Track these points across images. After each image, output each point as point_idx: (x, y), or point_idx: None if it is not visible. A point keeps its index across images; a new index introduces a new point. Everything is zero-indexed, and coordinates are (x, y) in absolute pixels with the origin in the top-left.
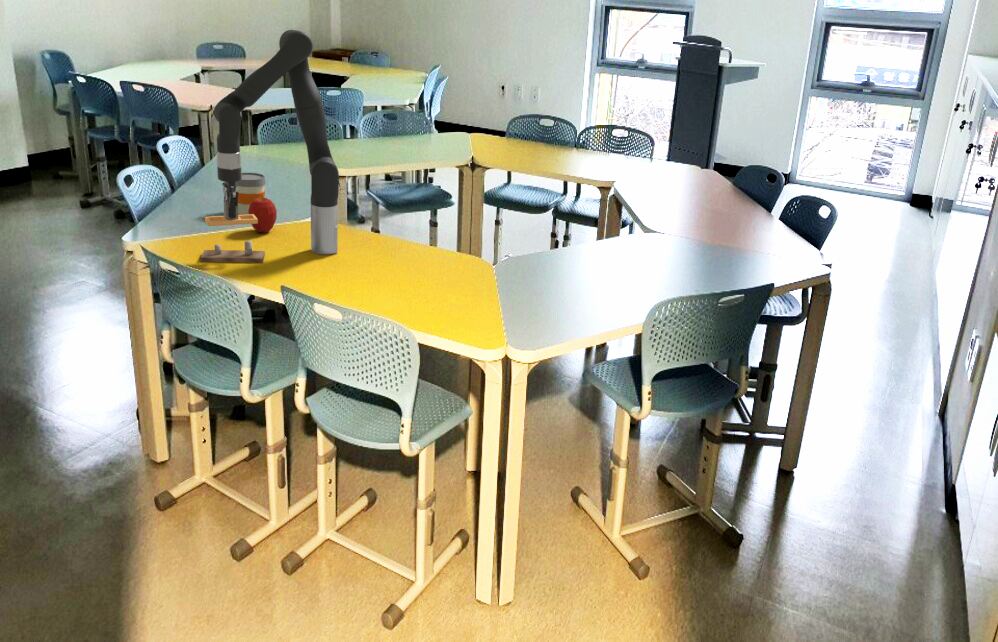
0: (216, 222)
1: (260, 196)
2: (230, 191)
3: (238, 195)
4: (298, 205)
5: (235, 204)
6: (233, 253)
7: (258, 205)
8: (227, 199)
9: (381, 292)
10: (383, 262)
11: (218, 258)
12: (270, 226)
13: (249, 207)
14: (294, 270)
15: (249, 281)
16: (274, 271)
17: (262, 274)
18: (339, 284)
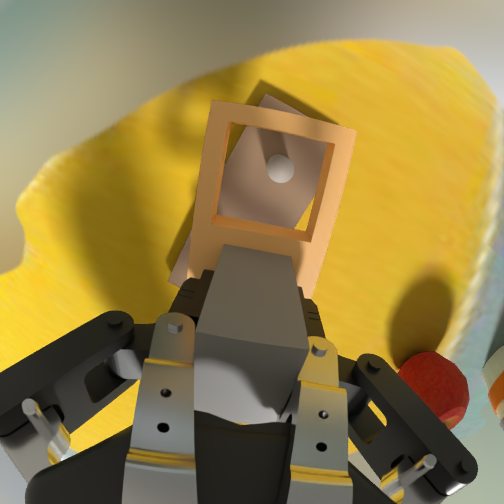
0: (203, 160)
1: (494, 402)
2: (66, 460)
3: None
4: (460, 423)
5: (105, 364)
6: (256, 218)
7: (434, 410)
8: (146, 366)
9: (11, 354)
10: None
11: (233, 149)
12: None
13: (461, 384)
14: (97, 312)
15: (51, 182)
16: (98, 269)
17: (84, 232)
18: (30, 333)
